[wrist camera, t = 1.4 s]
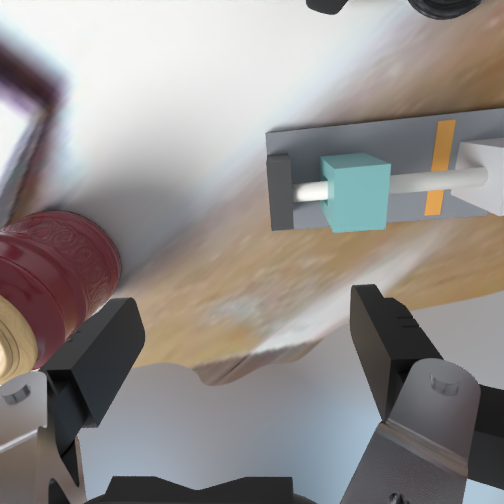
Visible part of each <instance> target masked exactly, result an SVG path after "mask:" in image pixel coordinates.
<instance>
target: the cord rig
mask: <svg viewBox="0 0 504 504" xmlns="http://www.w3.org/2000/svg"><path fill="white" fill-rule="evenodd" d="M266 146H267V162H266V165H267V177H268V190H269V202H270V215H271V228H272V231H282V230H296V229H309V228H323V227H330V225H329V223H328V221H327V219H326V217H325V215H324V214H323V212H322V210H321V208H320V200H326V199H328V181H322V182H320V157H321V156H332V155H342V154H352V153H366V154H368V155H371V156H373V157H376V158H378V159H381V160H383V161H385V162H388V163H390V164H391V171H390V183H389V194H388V205H387V216H386V223H390V222H404V221H417V220H431V219H444V218H458V217H471V216H485V215H488V212H491V213H493V214H496V215H498V216H504V108H496V109H487V110H478V111H468V112H459V113H450V114H440V115H431V116H421V117H412V118H403V119H393V120H384V121H375V122H365V123H356V124H346V125H337V126H328V127H318V128H309V129H300V130H290V131H281V132H271V133H266Z"/></svg>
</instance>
